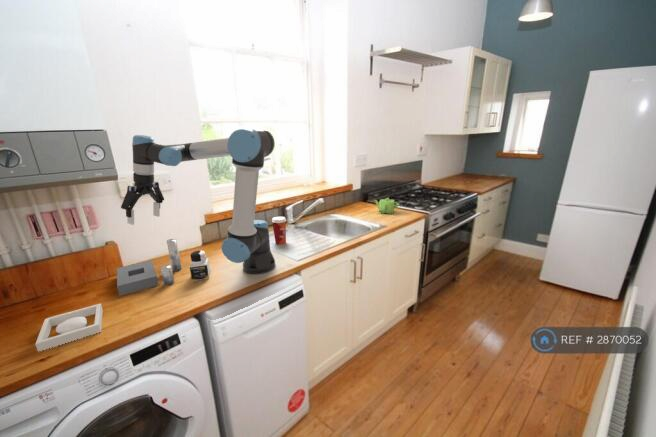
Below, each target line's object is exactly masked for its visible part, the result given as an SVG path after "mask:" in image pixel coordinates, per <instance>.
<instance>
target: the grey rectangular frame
mask: <svg viewBox="0 0 656 437" xmlns="http://www.w3.org/2000/svg"><path fill="white" fill-rule="evenodd" d="M103 311H104V310H103V307H102V303H97V304H93V305H91V306H90V305H89V306H86V307H82V308H80V309H75V310H72V311H68V312H64V313H62V314H56V315H53V316H49V317H47V318H45V319H44V321H43V324H42V326H41V329H40V331H39V334H38V336H37V339H36V342H35V348H36V349H37V352H38V353H40V352H39V351H41V352H43V351H42V350H44V351H47V350H50V349H53V348H56V347H59V346H58V345H60V346H63V345H65V343H66V344H68V342H69V343H72V342H75V341H78V340H82V339H84V338H83V337H85V338H87V337H86V336H88V337H90V336H89V335H91V336H94V335H96V333H97V334H100V333H102V326H103V324H102V323H103V313H104V312H103ZM93 315H94V316H95V317H94V322H93V323H94V324H90V325H86V327H83V328H80V329H77V330H73V331H70V332H67V333H64V334H60V333H59V334H57V335H54V336H51V337H49V336H50V333H51V330H52V327H55V326H56V327H57V326H58V324H61V323H63V322H64V321H66V320H68V319H71V318H74V317H85V318H86V317H89V316H90V317H91V316H93ZM99 332H100V333H99ZM93 334H94V335H93ZM77 339H78V340H77ZM74 340H75V341H74ZM71 341H72V342H71ZM62 344H63V345H62ZM52 347H53V348H52ZM49 348H50V349H49ZM46 349H47V350H46Z"/></svg>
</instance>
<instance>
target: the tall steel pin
mask: <svg viewBox="0 0 656 437" xmlns="http://www.w3.org/2000/svg"><path fill="white" fill-rule="evenodd" d="M166 244H167V250H168V255H169V259H170V265H171V268H172V272H178V271H181V270H182V269H183V268H182V263H181V258H180V253H179V252H180V251H179V247H178V243H177V238H170V239H167V240H166Z"/></svg>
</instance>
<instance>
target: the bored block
mask: <svg viewBox="0 0 656 437" xmlns="http://www.w3.org/2000/svg"><path fill="white" fill-rule="evenodd" d="M116 286H117V292H118V295H119V296H120V297H121V296H124V295H128V294H132V293H135V292H139V291H143V290H146V289H150V288H155V287H157V286H159V281H158V277H157V273H156V269H155V266H154V262H153V259H151V260H148V261H144V262H143V261H142V262H139V263H138V262H137V263H135V264H129V265H126V266H121V267H117V268H116Z"/></svg>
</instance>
